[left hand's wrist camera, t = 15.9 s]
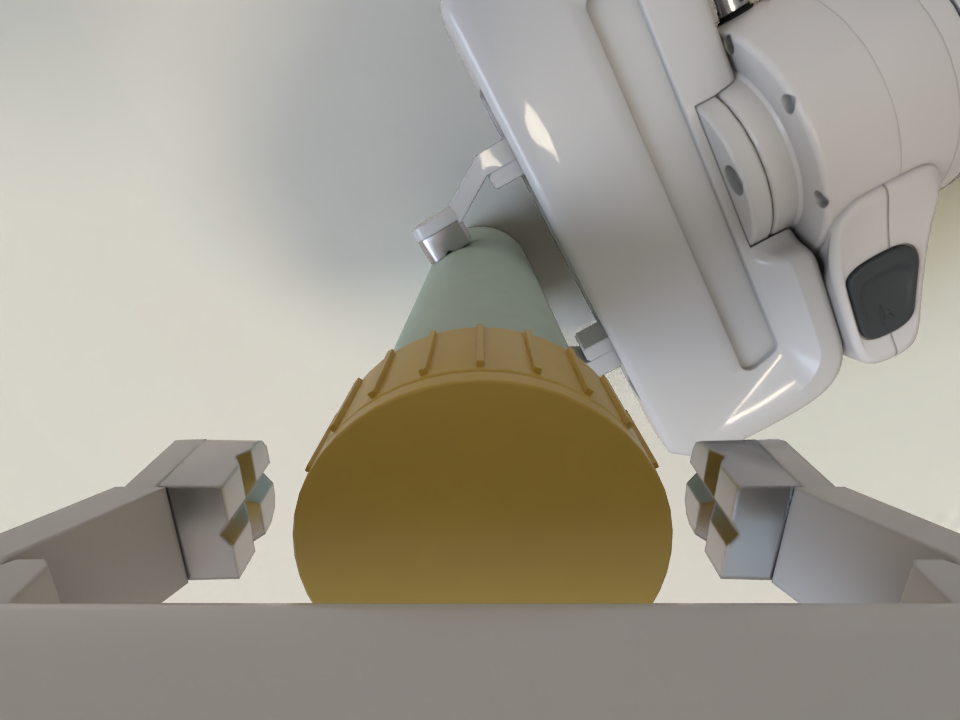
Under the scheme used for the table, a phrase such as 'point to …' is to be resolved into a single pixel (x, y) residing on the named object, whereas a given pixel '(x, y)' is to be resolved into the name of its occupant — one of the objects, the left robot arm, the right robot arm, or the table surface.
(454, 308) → the pale green cylinder
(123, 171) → the table surface
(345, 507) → the lid
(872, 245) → the right robot arm
